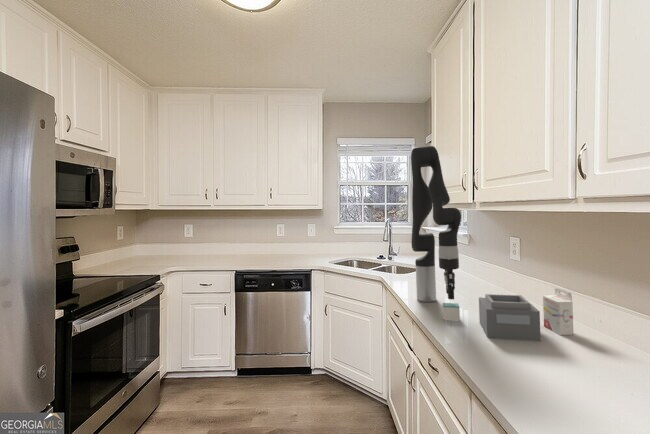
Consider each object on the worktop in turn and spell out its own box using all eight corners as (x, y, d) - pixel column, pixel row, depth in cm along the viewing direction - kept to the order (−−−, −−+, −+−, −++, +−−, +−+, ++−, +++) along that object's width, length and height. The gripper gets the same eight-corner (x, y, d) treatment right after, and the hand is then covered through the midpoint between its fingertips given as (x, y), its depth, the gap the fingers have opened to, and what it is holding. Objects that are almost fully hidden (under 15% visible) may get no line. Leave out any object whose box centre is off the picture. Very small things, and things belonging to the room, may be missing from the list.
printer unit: (479, 322, 121) (478, 292, 121) (525, 325, 117) (524, 293, 116) (487, 338, 107) (486, 303, 107) (540, 341, 103) (539, 305, 102)
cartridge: (443, 317, 129) (442, 302, 129) (458, 317, 128) (458, 303, 127) (443, 320, 126) (443, 305, 125) (459, 321, 124) (459, 306, 124)
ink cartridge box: (542, 326, 115) (541, 287, 115) (556, 325, 115) (555, 286, 115) (559, 335, 106) (558, 293, 106) (574, 335, 106) (573, 292, 106)
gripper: (437, 254, 134) (439, 291, 134) (439, 259, 120) (441, 300, 120) (456, 254, 132) (458, 292, 132) (460, 259, 118) (462, 301, 118)
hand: (450, 296), depth 126 cm, fingers open, 8 cm apart
